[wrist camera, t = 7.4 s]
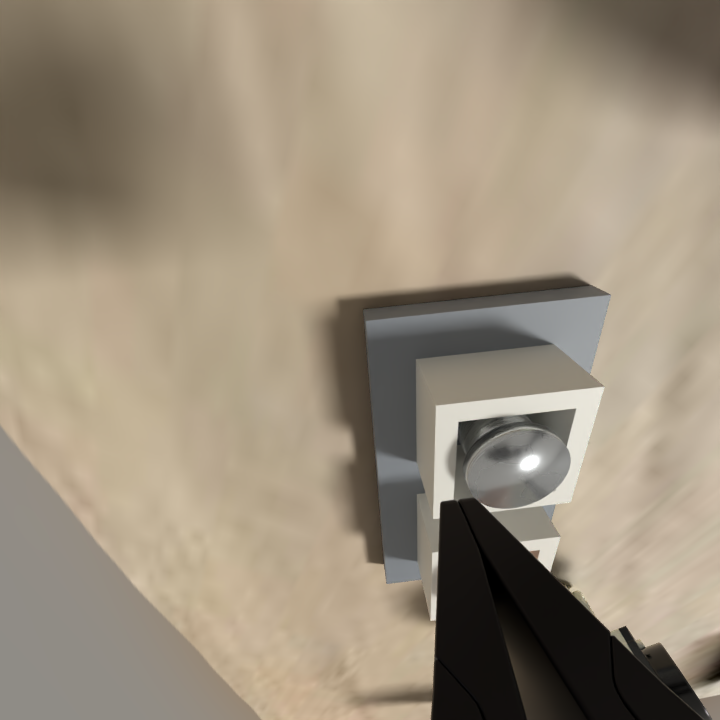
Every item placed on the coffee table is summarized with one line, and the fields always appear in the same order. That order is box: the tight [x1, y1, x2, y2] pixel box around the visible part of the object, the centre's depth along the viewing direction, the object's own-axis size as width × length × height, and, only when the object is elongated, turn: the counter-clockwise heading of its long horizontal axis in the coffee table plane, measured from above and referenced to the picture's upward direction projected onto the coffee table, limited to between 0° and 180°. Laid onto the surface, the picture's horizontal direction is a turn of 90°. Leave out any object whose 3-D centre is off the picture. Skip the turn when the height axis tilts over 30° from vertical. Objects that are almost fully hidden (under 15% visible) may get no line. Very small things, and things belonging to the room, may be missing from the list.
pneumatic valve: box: [564, 585, 712, 720], centre depth 29 cm, size 6×12×12 cm, turn 125°
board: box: [363, 285, 611, 621], centre depth 22 cm, size 12×22×6 cm, turn 5°
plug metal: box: [457, 414, 571, 509], centre depth 19 cm, size 5×5×5 cm
